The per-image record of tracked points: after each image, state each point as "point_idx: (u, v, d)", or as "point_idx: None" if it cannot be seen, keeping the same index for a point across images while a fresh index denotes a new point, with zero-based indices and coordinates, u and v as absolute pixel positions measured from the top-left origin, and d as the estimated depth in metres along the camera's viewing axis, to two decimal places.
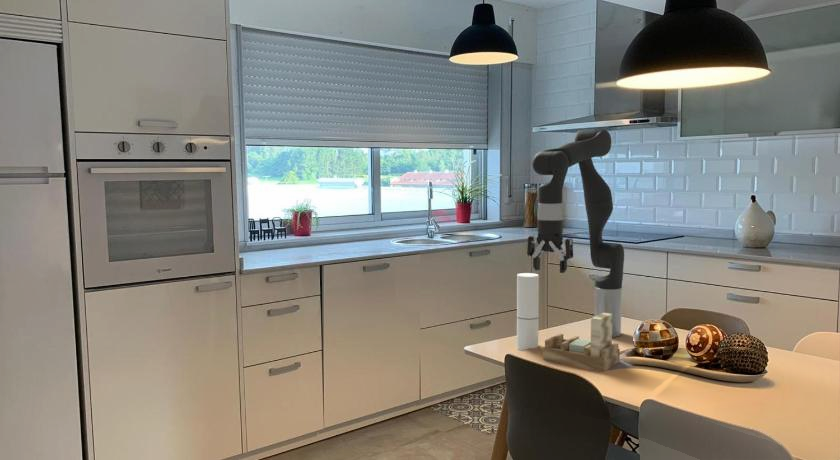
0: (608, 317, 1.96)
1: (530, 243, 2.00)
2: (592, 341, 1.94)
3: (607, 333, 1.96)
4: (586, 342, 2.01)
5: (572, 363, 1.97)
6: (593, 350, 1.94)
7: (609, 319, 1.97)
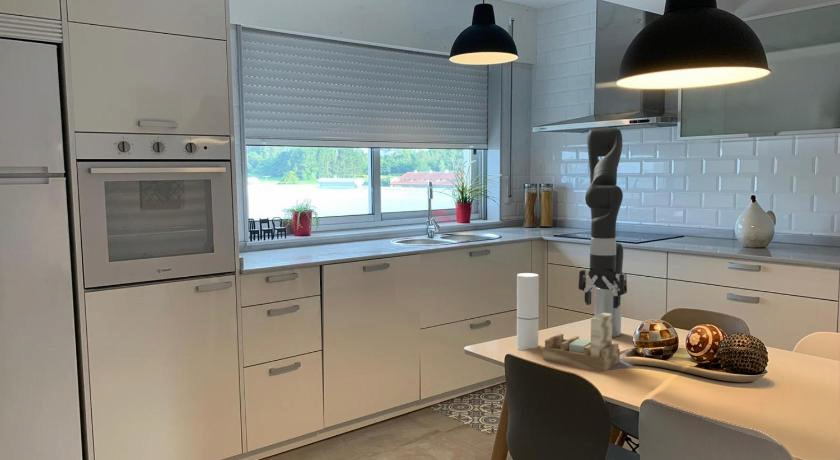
0: (608, 317, 1.96)
1: (582, 277, 1.98)
2: (592, 341, 1.94)
3: (607, 333, 1.96)
4: (586, 342, 2.01)
5: (572, 363, 1.97)
6: (593, 350, 1.94)
7: (609, 319, 1.97)
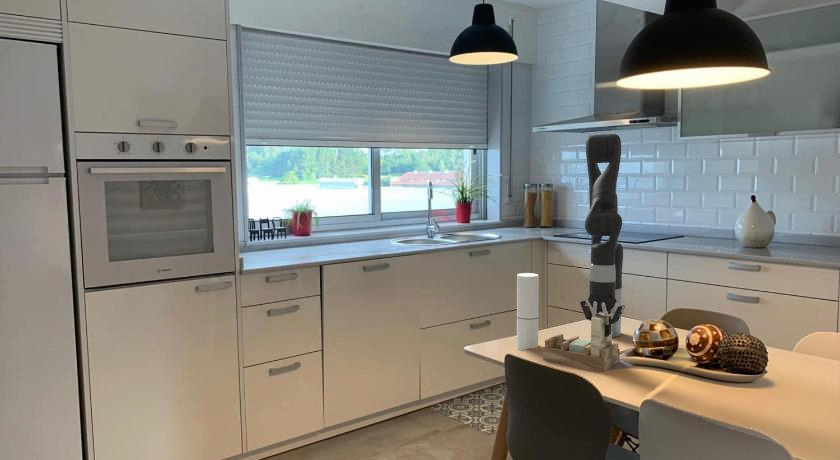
0: None
1: (584, 307, 1.98)
2: (592, 341, 1.94)
3: None
4: (586, 342, 2.01)
5: (572, 363, 1.97)
6: (593, 350, 1.94)
7: None
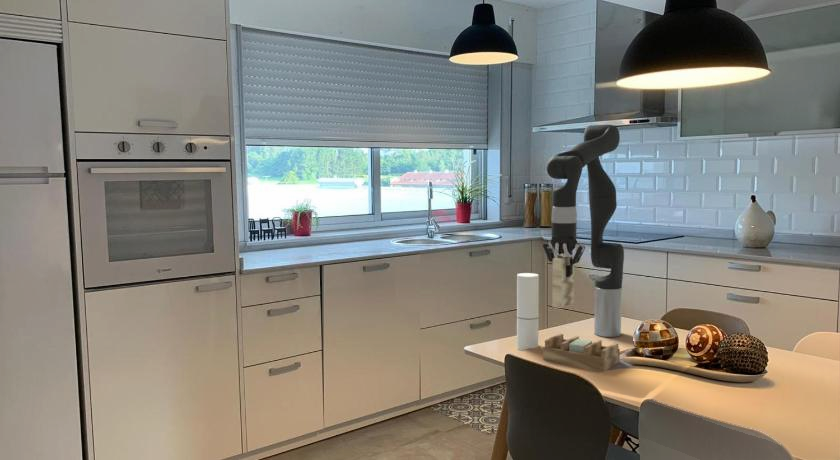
0: None
1: (547, 249, 2.04)
2: (554, 281, 2.00)
3: None
4: (586, 342, 2.01)
5: (572, 363, 1.97)
6: (554, 289, 2.00)
7: None
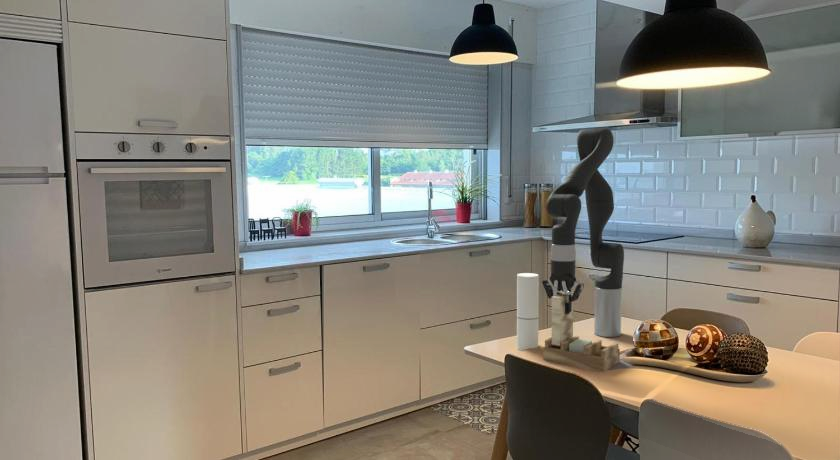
0: None
1: (546, 286, 2.06)
2: (553, 319, 2.01)
3: None
4: (586, 342, 2.01)
5: (572, 363, 1.97)
6: (553, 327, 2.02)
7: None
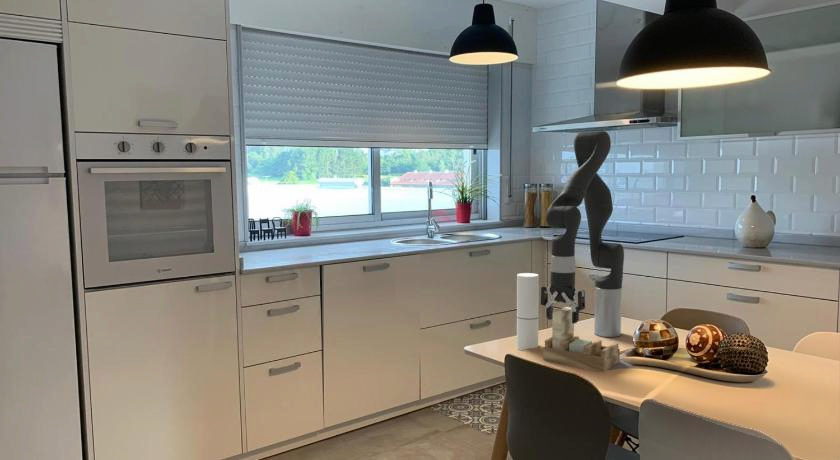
0: (569, 311, 2.05)
1: (543, 293, 2.06)
2: (553, 334, 2.02)
3: (569, 326, 2.05)
4: (586, 342, 2.01)
5: (572, 363, 1.97)
6: (554, 342, 2.02)
7: (570, 313, 2.06)
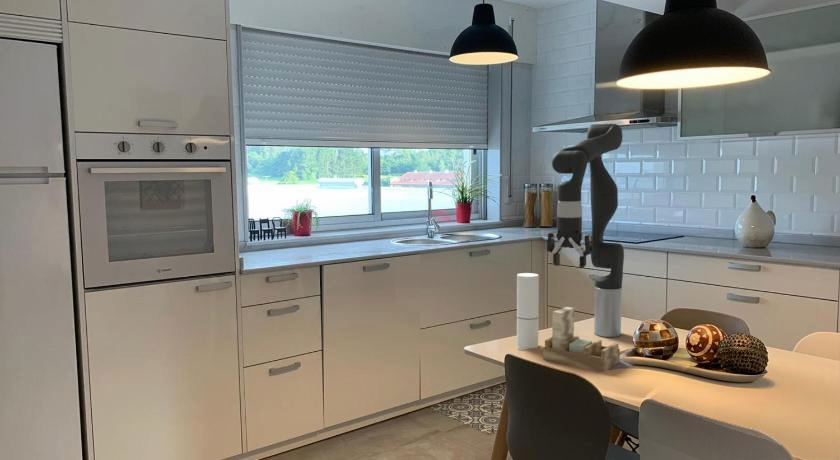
0: (569, 311, 2.05)
1: (550, 239, 2.07)
2: (553, 334, 2.02)
3: (569, 326, 2.05)
4: (586, 342, 2.01)
5: (572, 363, 1.97)
6: (554, 342, 2.02)
7: (570, 313, 2.06)
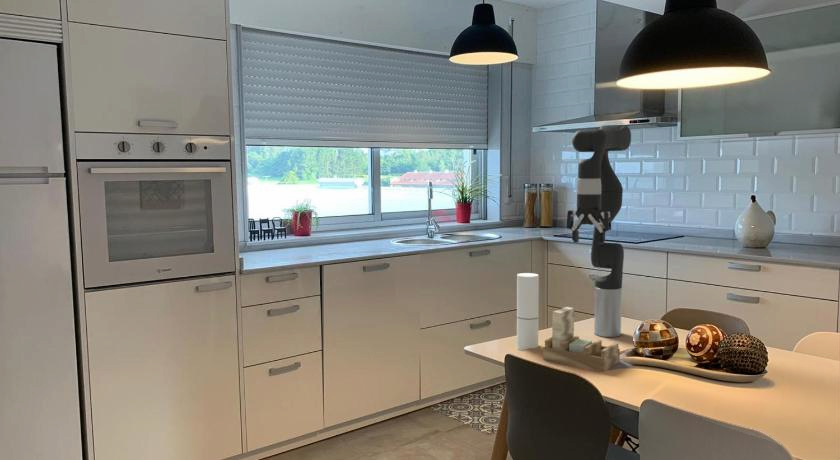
0: (569, 311, 2.05)
1: (569, 217, 2.12)
2: (553, 334, 2.02)
3: (569, 326, 2.05)
4: (586, 342, 2.01)
5: (572, 363, 1.97)
6: (554, 342, 2.02)
7: (570, 313, 2.06)
